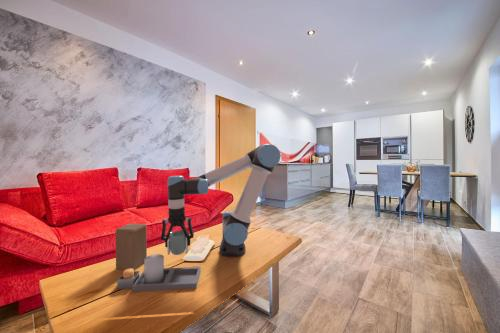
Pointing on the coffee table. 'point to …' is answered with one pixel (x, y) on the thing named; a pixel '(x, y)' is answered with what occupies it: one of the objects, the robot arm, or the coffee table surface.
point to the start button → (128, 273)
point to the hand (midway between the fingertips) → (178, 252)
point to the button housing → (127, 281)
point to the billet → (154, 269)
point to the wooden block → (131, 246)
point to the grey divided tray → (171, 280)
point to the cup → (177, 242)
